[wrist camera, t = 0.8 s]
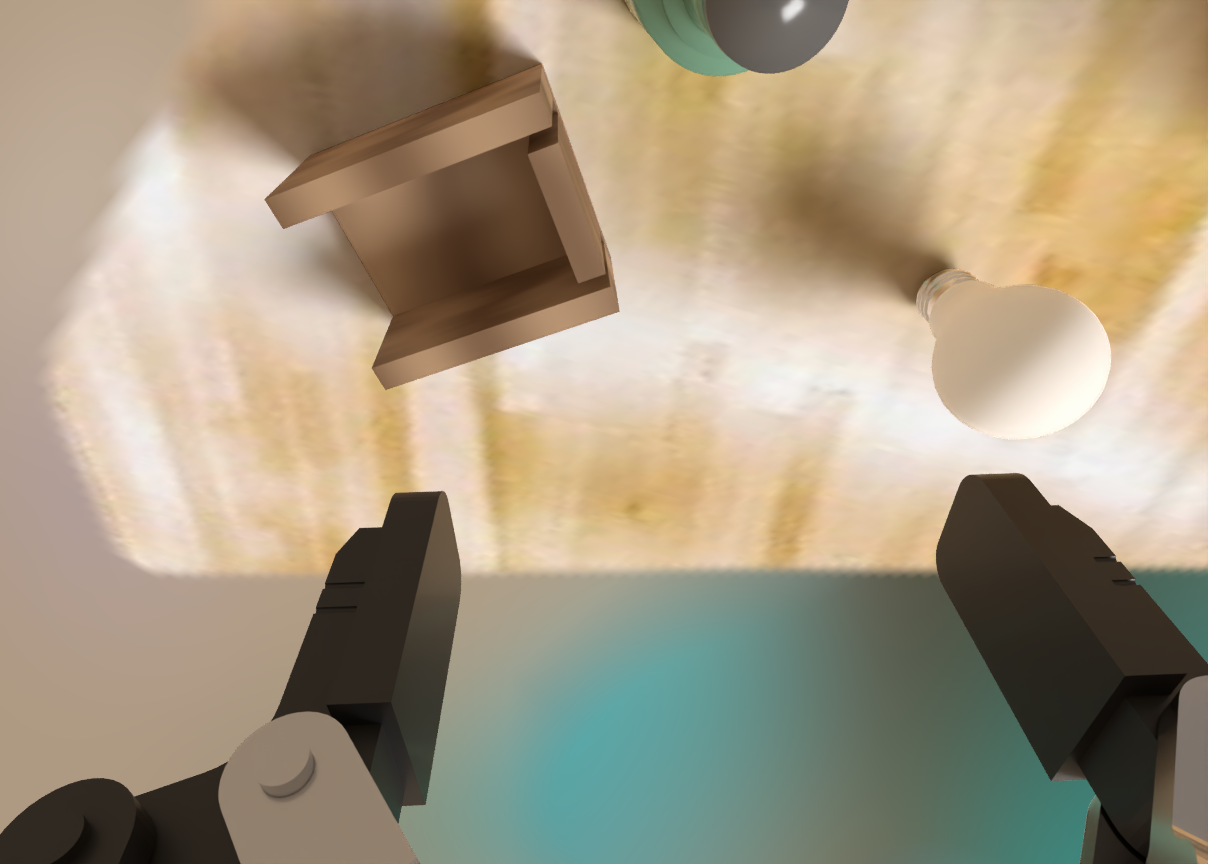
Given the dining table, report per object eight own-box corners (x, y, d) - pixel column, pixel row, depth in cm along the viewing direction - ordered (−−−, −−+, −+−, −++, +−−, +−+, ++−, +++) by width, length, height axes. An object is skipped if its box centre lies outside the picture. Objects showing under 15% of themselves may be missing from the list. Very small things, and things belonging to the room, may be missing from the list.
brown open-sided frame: (542, 63, 29) (539, 91, 24) (610, 256, 34) (619, 311, 30) (309, 155, 31) (264, 199, 26) (408, 326, 36) (385, 390, 31)
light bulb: (851, 281, 36) (948, 399, 27) (974, 197, 34) (1124, 295, 25) (906, 365, 39) (1009, 495, 30) (1022, 293, 37) (1169, 411, 28)
